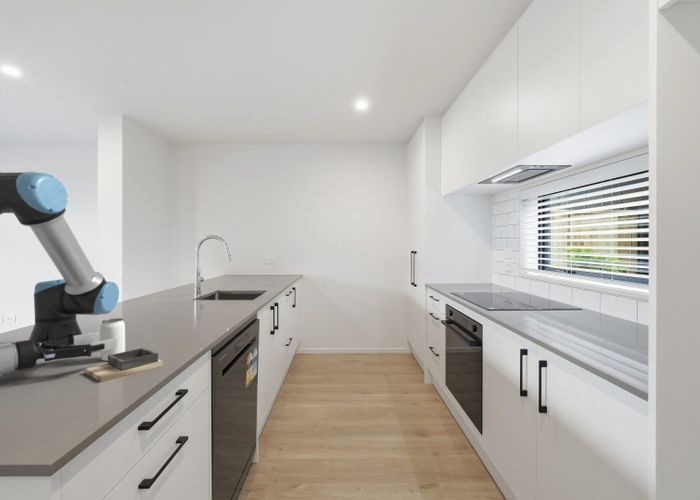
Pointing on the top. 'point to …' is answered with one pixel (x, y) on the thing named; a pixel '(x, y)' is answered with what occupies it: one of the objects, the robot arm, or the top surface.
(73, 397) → the top surface
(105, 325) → the can
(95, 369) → the seat block
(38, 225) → the robot arm
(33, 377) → the top surface
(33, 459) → the top surface
